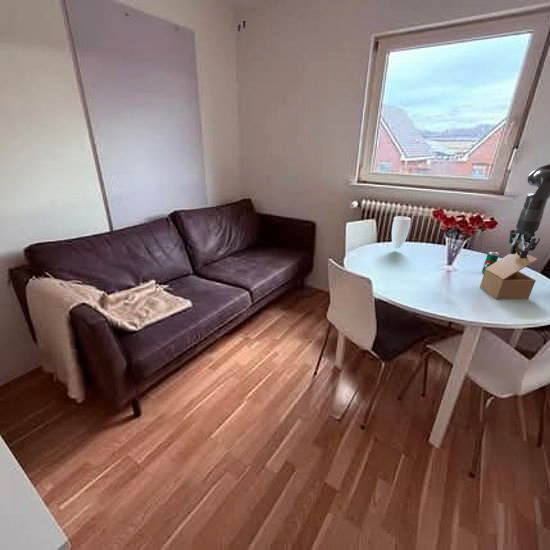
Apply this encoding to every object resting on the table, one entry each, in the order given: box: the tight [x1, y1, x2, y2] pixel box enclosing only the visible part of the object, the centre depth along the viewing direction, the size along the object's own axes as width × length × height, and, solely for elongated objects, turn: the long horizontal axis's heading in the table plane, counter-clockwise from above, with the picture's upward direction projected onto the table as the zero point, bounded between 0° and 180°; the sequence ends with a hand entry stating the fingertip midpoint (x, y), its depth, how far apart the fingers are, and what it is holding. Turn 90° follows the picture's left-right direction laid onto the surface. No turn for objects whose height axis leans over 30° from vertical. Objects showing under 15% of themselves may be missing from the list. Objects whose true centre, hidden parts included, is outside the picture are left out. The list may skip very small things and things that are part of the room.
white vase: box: [391, 215, 412, 249], centre depth 193 cm, size 10×10×22 cm
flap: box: [486, 247, 539, 280], centre depth 139 cm, size 16×12×5 cm
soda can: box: [481, 250, 500, 275], centre depth 165 cm, size 5×5×12 cm
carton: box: [479, 270, 537, 300], centre depth 144 cm, size 15×12×10 cm
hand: (517, 255), depth 139 cm, fingers closed on flap, 5 cm apart
